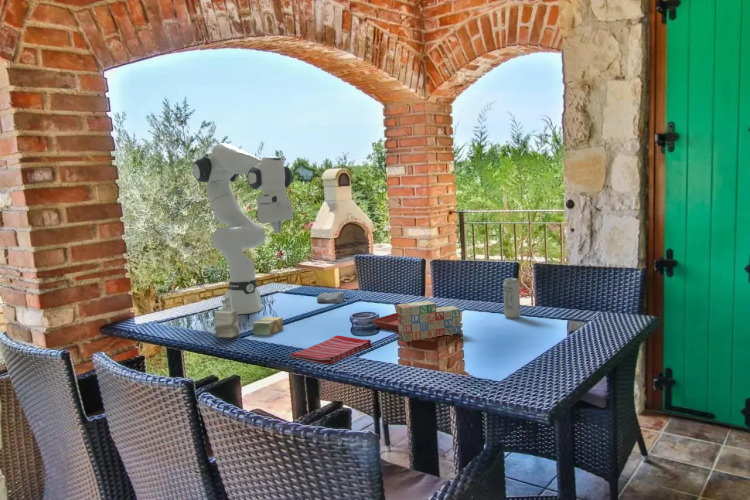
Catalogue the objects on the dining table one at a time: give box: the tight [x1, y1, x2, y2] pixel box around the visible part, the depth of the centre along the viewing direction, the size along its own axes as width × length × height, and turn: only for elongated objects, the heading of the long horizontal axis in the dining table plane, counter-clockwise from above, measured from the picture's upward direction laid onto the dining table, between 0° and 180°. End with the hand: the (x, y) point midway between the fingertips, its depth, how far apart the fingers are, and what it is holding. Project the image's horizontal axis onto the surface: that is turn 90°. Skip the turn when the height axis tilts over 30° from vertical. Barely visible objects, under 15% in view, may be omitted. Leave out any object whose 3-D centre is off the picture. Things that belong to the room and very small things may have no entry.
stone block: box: [316, 291, 345, 304], centre depth 286 cm, size 12×5×10 cm
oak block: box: [252, 316, 284, 336], centre depth 234 cm, size 4×7×10 cm
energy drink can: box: [502, 277, 521, 320], centre depth 234 cm, size 6×6×15 cm
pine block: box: [214, 310, 240, 340], centre depth 228 cm, size 4×7×10 cm, turn 67°
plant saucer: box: [371, 312, 398, 332], centre depth 231 cm, size 18×18×3 cm
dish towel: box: [290, 335, 373, 365], centre depth 202 cm, size 17×24×3 cm
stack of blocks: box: [396, 300, 462, 343], centre depth 214 cm, size 21×6×12 cm, turn 106°
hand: (277, 232), depth 238 cm, fingers closed
